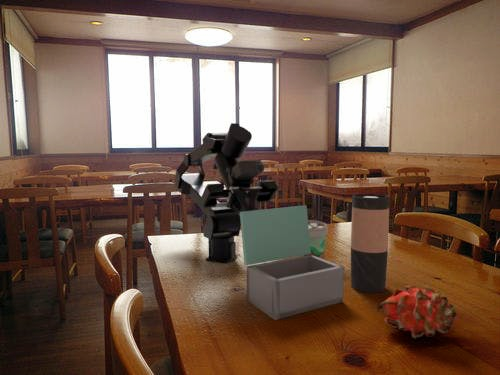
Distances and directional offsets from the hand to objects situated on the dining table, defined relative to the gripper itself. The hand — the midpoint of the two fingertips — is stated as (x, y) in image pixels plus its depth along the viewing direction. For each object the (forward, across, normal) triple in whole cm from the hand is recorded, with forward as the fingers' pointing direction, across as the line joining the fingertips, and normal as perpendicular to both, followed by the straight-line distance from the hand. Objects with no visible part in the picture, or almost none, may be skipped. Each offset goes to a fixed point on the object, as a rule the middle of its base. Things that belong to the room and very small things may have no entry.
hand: (253, 221), depth 89 cm
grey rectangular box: (+21, 0, -2) cm, 21 cm away
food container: (+8, +20, +11) cm, 24 cm away
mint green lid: (+8, 0, -7) cm, 10 cm away
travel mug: (+22, +18, -3) cm, 29 cm away
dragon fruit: (+35, +9, -16) cm, 40 cm away
